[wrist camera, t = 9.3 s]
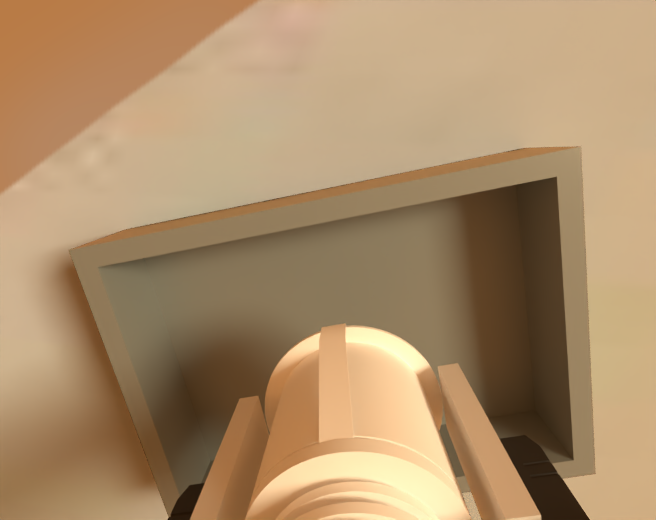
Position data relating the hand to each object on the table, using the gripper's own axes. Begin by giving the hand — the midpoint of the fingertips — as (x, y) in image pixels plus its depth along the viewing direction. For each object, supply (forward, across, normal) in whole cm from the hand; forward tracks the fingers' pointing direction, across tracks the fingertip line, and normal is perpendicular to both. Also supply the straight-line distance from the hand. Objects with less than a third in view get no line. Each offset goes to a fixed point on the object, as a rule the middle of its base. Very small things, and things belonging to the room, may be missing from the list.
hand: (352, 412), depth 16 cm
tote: (+8, 0, 0) cm, 8 cm away
